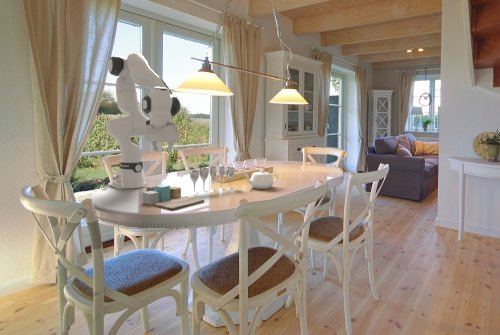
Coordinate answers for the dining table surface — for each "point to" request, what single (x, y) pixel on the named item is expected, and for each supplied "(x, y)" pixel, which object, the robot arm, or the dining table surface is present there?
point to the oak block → (175, 192)
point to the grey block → (150, 197)
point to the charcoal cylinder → (150, 189)
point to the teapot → (261, 179)
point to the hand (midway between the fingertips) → (162, 151)
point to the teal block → (163, 192)
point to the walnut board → (178, 203)
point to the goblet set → (204, 174)
